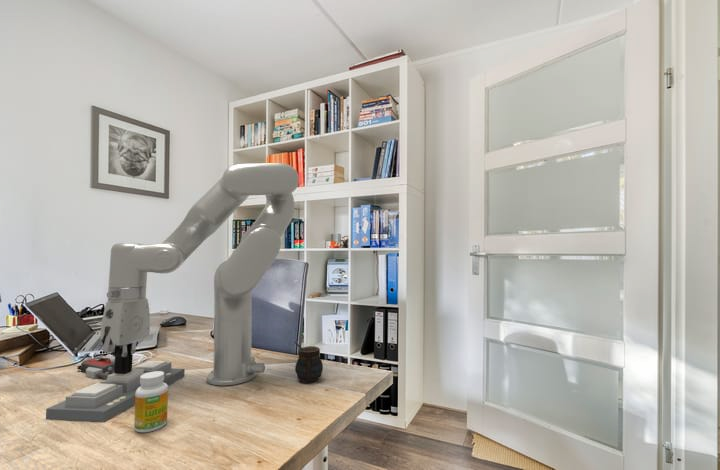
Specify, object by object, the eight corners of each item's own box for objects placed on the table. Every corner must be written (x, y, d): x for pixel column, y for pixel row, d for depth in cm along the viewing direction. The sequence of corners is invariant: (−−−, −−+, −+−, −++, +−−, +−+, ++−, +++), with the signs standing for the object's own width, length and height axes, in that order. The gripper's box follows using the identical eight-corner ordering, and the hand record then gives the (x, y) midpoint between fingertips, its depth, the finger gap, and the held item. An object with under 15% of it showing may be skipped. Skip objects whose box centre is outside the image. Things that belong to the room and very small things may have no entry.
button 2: (143, 377, 82) (143, 369, 82) (126, 385, 77) (127, 376, 77) (124, 376, 82) (124, 368, 82) (107, 384, 77) (107, 375, 77)
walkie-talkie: (68, 374, 94) (111, 384, 86) (68, 358, 95) (112, 367, 87) (102, 365, 102) (145, 373, 94) (102, 350, 103) (145, 357, 95)
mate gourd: (323, 384, 84) (323, 343, 85) (293, 386, 83) (293, 345, 84) (322, 374, 92) (322, 337, 92) (294, 376, 90) (294, 338, 91)
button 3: (115, 393, 74) (116, 384, 74) (95, 403, 69) (95, 393, 69) (95, 392, 74) (95, 383, 74) (73, 402, 69) (73, 392, 69)
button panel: (184, 376, 91) (184, 361, 91) (103, 422, 66) (104, 401, 66) (140, 374, 92) (141, 360, 93) (45, 418, 68) (46, 398, 68)
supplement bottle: (142, 436, 61) (144, 381, 61) (128, 428, 64) (130, 376, 64) (172, 423, 65) (173, 372, 66) (158, 416, 68) (159, 368, 69)
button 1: (165, 368, 90) (166, 361, 90) (152, 375, 85) (152, 367, 85) (148, 368, 90) (149, 360, 90) (134, 374, 85) (134, 366, 85)
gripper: (115, 298, 73) (110, 385, 71) (163, 291, 88) (159, 363, 86) (84, 297, 74) (78, 383, 72) (137, 291, 88) (133, 362, 87)
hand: (122, 372), depth 79 cm, fingers closed
